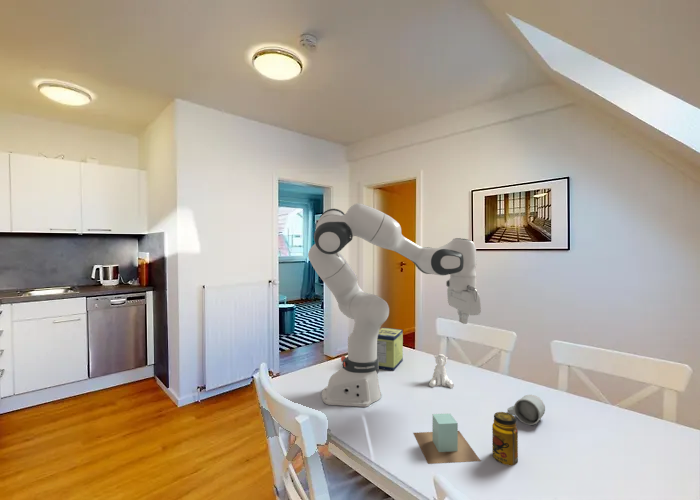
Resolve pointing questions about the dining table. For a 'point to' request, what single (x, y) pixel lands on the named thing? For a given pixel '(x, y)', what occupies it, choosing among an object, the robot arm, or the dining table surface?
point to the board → (434, 456)
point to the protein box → (389, 348)
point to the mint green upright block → (445, 432)
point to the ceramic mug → (528, 409)
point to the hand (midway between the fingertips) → (463, 322)
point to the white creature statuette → (440, 373)
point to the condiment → (505, 438)
